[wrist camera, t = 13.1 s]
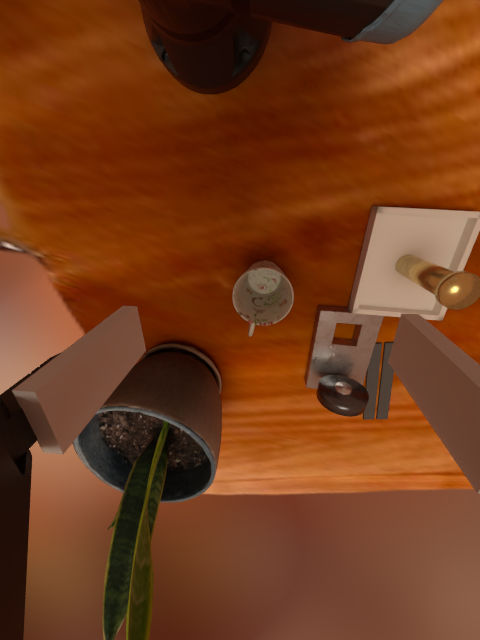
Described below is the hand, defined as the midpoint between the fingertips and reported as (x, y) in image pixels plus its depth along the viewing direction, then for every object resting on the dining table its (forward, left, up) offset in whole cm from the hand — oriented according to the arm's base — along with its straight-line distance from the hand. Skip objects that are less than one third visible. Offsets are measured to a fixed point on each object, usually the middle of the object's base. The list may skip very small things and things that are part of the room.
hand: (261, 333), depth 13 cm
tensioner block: (+18, +15, -32) cm, 39 cm away
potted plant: (+29, -15, -32) cm, 46 cm away
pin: (+2, +22, -31) cm, 38 cm away
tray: (+2, +22, -32) cm, 38 cm away
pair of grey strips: (+25, +24, -32) cm, 47 cm away
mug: (+8, 0, -32) cm, 33 cm away
